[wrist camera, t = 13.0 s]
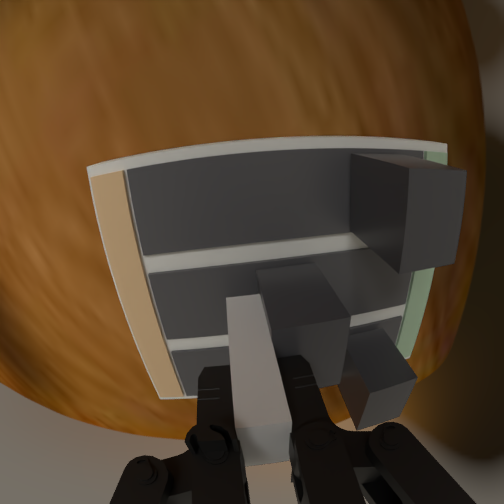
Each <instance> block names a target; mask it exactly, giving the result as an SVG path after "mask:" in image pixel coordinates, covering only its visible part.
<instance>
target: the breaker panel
mask: <svg viewBox="0 0 504 504" xmlns="http://www.w3.org/2000/svg"><path fill="white" fill-rule="evenodd" d="M351 153H377V154H403V155H408V156H412V157H417V158H421V159H425V160H429V161H433V162H437V163H441V164H445V165H447V154H448V153H447V144H445V143H439V142H433V141H427V140H417V139H405V138H391V137H371V136H293V137H273V138H257V139H245V140H234V141H224V142H215V143H206V144H198V145H191V146H184V147H177V148H171V149H165V150H159V151H153V152H147V153H142V154H137V155H132V156H127V157H122V158H117V159H113V160H108V161H104V162H100V163H97V164H94V165H91V166H88V167H87V171H88V177H89V182H90V188H91V193H92V198H93V203H94V208H95V212H96V217H97V221H98V226H99V230H100V234H101V238H102V242H103V246H104V249H105V253H106V257H107V260H108V264H109V267H110V271H111V274H112V277H113V281H114V284H115V287H116V290H117V293H118V296H119V299H120V302H121V305H122V308H123V311H124V314H125V317H126V319H127V322H128V325H129V328H130V330H131V333H132V335H133V338H134V341H135V343H136V346H137V348H138V351H139V353H140V355H141V358H142V360H143V362H144V365H145V367H146V369H147V372H148V374H149V376H150V378H151V381H152V383H153V385H154V387H155V389H156V391H157V394H158V396H159V398H160V399H184V398H197V395H198V377H199V375H200V374H201V372H202V370H203V368H204V367H210V366H222V365H230V355H229V340H228V323H227V306H226V298H228V297H237V296H246V295H255V294H258V290H257V278H256V270H259V269H267V268H275V267H284V266H292V265H300V264H308V263H316V265H317V266H318V268H319V269H320V270H321V272H322V273H323V275H324V276H325V278H326V279H327V281H328V282H329V284H330V285H331V287H332V288H333V290H334V291H335V293H336V294H337V296H338V297H339V299H340V301H341V302H342V304H343V305H344V307H345V308H346V310H347V311H348V313H349V314H350V316H351V322H350V329H349V335H354V334H358V333H363V332H367V331H372V330H376V329H380V328H383V329H384V330H385V332H386V333H387V334H388V336H389V337H390V339H391V340H392V341H393V343H394V344H395V346H396V347H397V348H398V350H399V351H400V353H401V354H402V356H403V357H404V358H405V359H408V358H410V356H411V353H412V350H413V347H414V344H415V341H416V338H417V335H418V331H419V328H420V325H421V321H422V318H423V314H424V311H425V307H426V303H427V299H428V295H429V291H430V287H431V282H432V278H433V273H434V268H430V269H425V270H419V271H414V272H409V273H404V274H398V273H397V272H396V271H395V270H394V269H393V268H392V267H391V266H389V265H388V264H387V263H386V262H385V261H384V260H383V259H382V258H381V257H379V256H378V255H377V254H376V253H375V252H374V251H373V250H372V249H370V248H369V247H368V246H367V245H366V244H365V243H364V242H362V241H361V240H360V239H359V238H358V237H357V236H355V235H354V234H353V233H352V232H351V231H350V220H351ZM349 335H348V336H349Z"/></svg>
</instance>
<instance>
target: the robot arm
mask: <svg viewBox="0 0 504 504" xmlns="http://www.w3.org/2000/svg"><path fill="white" fill-rule="evenodd" d="M226 306H227V323H228V340H229V355H230V365H222V366H210V367H204V368H203V370H202V372H201V374H200V375H199V377H198V395H197V399H198V401H197V425H195V426H194V427H192V428H191V429H190V431H189V432H188V433H187V435H186V438H185V443H186V445H187V447H188V448H189V450H187V451H186V452H184V453H183V454H180V455H178V456H174V457H171V458H167V459H163V460H160V459H157V458H155V457H153V456H145V455H144V456H140V457H136V458H134V459H133V460H131V461H130V462H129V463H128V464H127V466H126V467H125V469H124V471H123V474H122V476H121V478H120V481H119V483H118V485H117V487H116V490H115V492H114V494H113V497H112V499H111V501H110V504H250V497H249V489H248V482H247V478H246V471H245V466H255V465H263V464H271V463H277V462H283V461H289V458H290V462H291V466H292V474H291V482H293V483H294V487H295V492H296V497H297V501H298V504H366V503H365V500H364V497H365V499H366V500H367V501H368V503H369V504H476V503H475V502H474V501H473V500H472V498H470V496H469V495H468V494H467V493H466V492H465V491H464V490H463V489H462V488H461V487H460V485H458V483H457V482H456V481H455V480H454V479H453V478H452V477H451V476H450V475H449V474H448V472H447V471H446V470H445V469H444V468H443V467H442V466H441V465H440V464H439V463H438V462H437V460H435V458H434V457H433V456H432V455H431V454H430V453H429V452H428V451H427V450H426V448H425V447H424V446H423V445H422V444H421V443H420V442H419V441H418V440H417V439H416V437H415V436H414V435H413V434H412V433H411V432H410V431H409V430H408V429H407V428H406V427H404V426H403V425H402V424H399V423H395V422H385V423H383V424H380V425H378V426H377V427H376V428H375V429H373V430H372V431H347V430H344V429H341V428H339V427H338V426H336V425H335V424H334V423H333V422H332V421H331V419H330V417H329V415H328V413H327V410H326V407H325V404H324V402H323V399H322V396H321V393H320V391H319V388H318V385H317V382H316V380H315V377H314V374H313V371H312V369H311V366H310V363H309V362H308V361H307V360H306V359H305V358H303V357H302V356H301V355H295V356H289V357H282V358H276V355H275V351H274V347H273V343H272V341H271V337H270V333H269V329H268V325H267V320H266V316H265V312H264V308H263V304H262V300H261V296H260V294H255V295H246V296H237V297H228V298H226ZM363 496H364V497H363Z"/></svg>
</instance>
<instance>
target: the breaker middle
mask: <svg viewBox="0 0 504 504" xmlns="http://www.w3.org/2000/svg"><path fill="white" fill-rule="evenodd" d="M256 278H257V290H258V294H260V296H261V300H262V304H263V308H264V312H265V316H266V320H267V325H268V329H269V333H270V337H271V341H272V343H273V347H274V351H275V355H276V358H282V357H289V356H295V355H301V356H302V357H303V358H305V359H306V360H307V361H308V362H309V363H310V366H311V369H312V371H313V374H314V377H315V380H316V382H317V385H318V388H323V387H327V386H332V385H336V384H340V381H341V376H342V371H343V365H344V360H345V354H346V348H347V342H348V335H349V329H350V322H351V316H350V314H349V313H348V311H347V310H346V308H345V307H344V305H343V304H342V302H341V301H340V299H339V297H338V296H337V294H336V293H335V291H334V290H333V288H332V287H331V285H330V284H329V282H328V281H327V279H326V278H325V276H324V275H323V273H322V272H321V270H320V269H319V268H318V266H317V265H316V263H308V264H300V265H292V266H284V267H275V268H267V269H259V270H256Z"/></svg>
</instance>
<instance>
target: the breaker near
mask: <svg viewBox="0 0 504 504" xmlns="http://www.w3.org/2000/svg"><path fill="white" fill-rule="evenodd" d="M466 176H467V171H466V170H463V169H459V168H456V167H452V166H449V165H445V164H441V163H437V162H433V161H429V160H425V159H421V158H417V157H412V156H408V155H403V154H377V153H351V220H350V231H351V232H352V233H353V234H354V235H355V236H357V237H358V238H359V239H360V240H361V241H362V242H364V243H365V244H366V245H367V246H368V247H369V248H370V249H372V250H373V251H374V252H375V253H376V254H377V255H378V256H379V257H381V258H382V259H383V260H384V261H385V262H386V263H387V264H388V265H389V266H391V267H392V268H393V269H394V270H395V271H396V272H397V273H398V274H404V273H409V272H414V271H419V270H425V269H430V268H435V267H440V266H445V265H449V264H454V262H455V257H456V252H457V247H458V241H459V235H460V229H461V223H462V216H463V208H464V199H465V189H466Z"/></svg>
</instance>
